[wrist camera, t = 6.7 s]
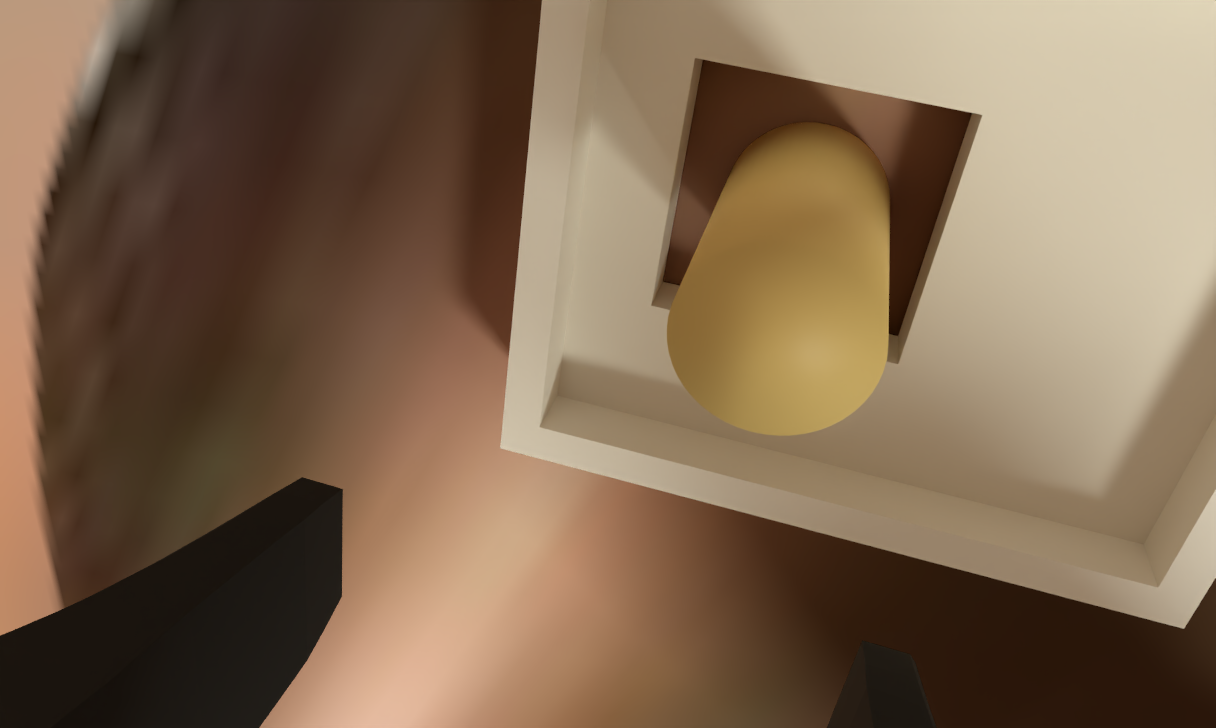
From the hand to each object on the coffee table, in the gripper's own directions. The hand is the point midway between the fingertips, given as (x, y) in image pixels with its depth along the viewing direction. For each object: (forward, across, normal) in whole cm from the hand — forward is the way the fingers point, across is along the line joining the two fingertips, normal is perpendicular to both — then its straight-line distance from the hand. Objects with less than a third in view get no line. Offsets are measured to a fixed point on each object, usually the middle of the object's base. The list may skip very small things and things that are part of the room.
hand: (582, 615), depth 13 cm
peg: (+9, -2, -3) cm, 10 cm away
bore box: (+9, -4, -3) cm, 11 cm away
